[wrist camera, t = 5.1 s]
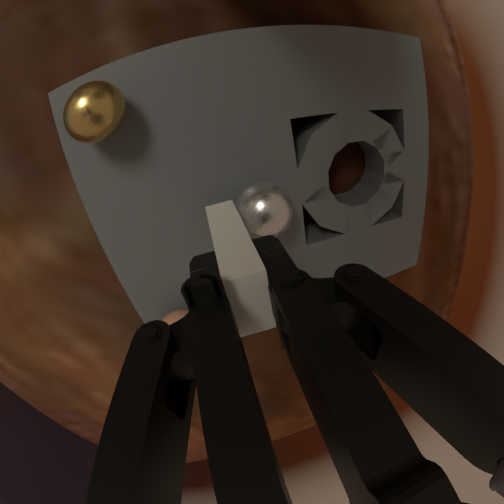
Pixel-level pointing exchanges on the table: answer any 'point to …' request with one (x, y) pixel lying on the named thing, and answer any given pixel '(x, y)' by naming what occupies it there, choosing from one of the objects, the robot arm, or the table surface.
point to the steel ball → (265, 209)
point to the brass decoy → (94, 111)
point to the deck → (256, 150)
